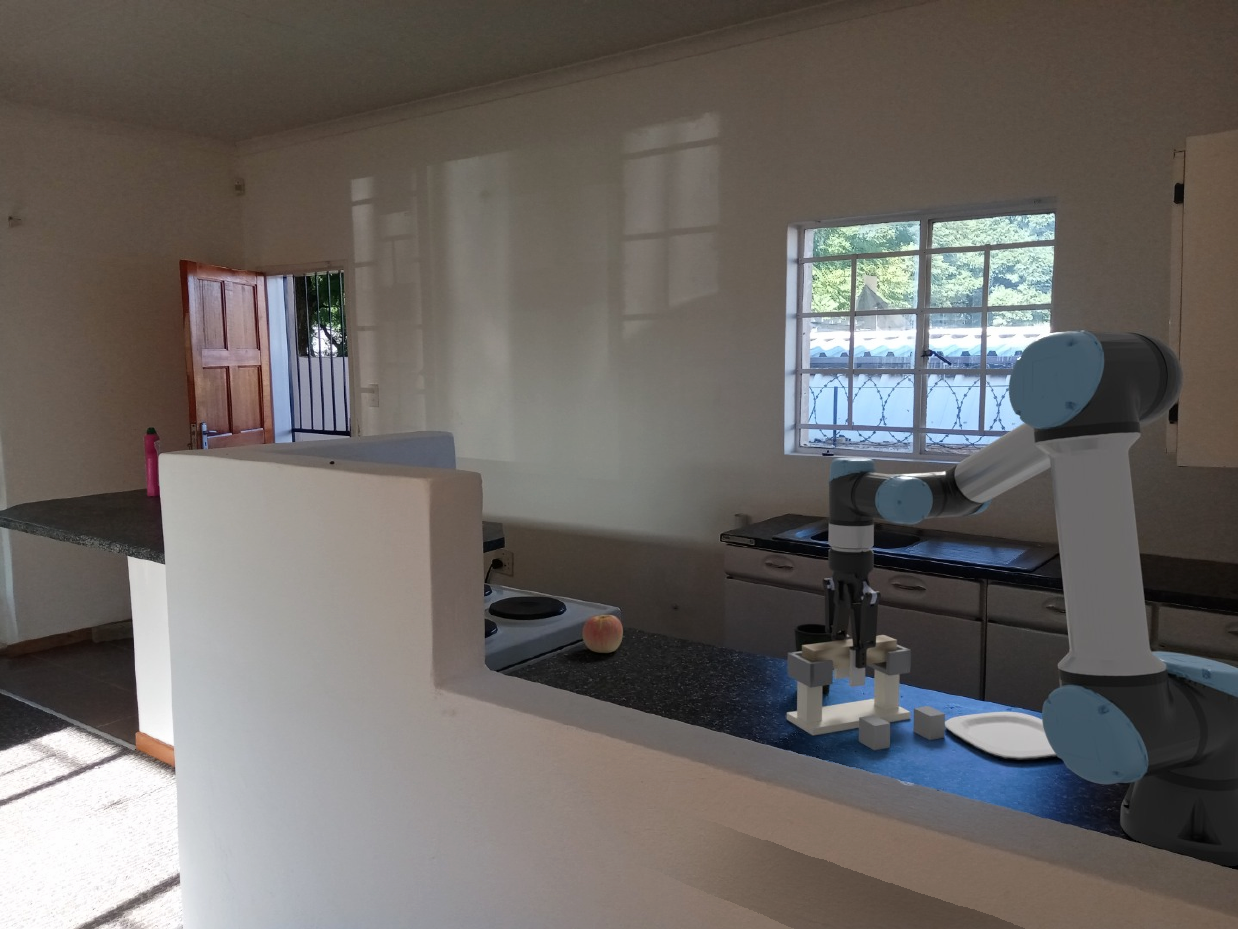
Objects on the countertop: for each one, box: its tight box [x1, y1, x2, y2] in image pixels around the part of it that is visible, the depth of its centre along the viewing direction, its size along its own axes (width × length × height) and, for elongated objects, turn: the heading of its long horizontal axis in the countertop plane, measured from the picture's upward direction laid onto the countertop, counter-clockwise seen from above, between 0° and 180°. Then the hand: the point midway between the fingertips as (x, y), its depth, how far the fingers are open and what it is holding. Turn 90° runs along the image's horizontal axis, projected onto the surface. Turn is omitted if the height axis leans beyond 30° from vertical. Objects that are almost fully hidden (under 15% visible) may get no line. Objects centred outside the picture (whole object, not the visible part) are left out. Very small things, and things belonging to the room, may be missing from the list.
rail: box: [802, 634, 898, 670], centre depth 156 cm, size 17×4×4 cm, turn 112°
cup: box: [793, 623, 833, 696], centre depth 171 cm, size 8×8×12 cm
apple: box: [582, 614, 624, 654], centre depth 198 cm, size 9×9×8 cm
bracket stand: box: [786, 644, 912, 736], centre depth 156 cm, size 8×21×12 cm, turn 112°
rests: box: [858, 705, 946, 751], centre depth 148 cm, size 4×14×4 cm, turn 112°
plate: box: [945, 711, 1058, 761], centre depth 147 cm, size 18×18×2 cm
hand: (849, 681), depth 156 cm, fingers open, 4 cm apart
